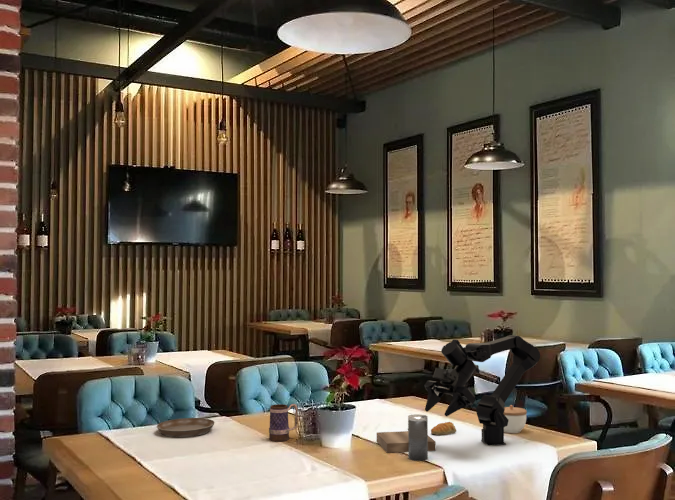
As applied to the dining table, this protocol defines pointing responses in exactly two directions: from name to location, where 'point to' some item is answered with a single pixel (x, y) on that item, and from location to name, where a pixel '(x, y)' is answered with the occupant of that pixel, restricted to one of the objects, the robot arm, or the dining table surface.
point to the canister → (417, 437)
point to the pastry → (444, 429)
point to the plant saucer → (185, 427)
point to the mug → (280, 422)
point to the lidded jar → (515, 419)
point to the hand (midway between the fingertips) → (435, 413)
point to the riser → (398, 441)
